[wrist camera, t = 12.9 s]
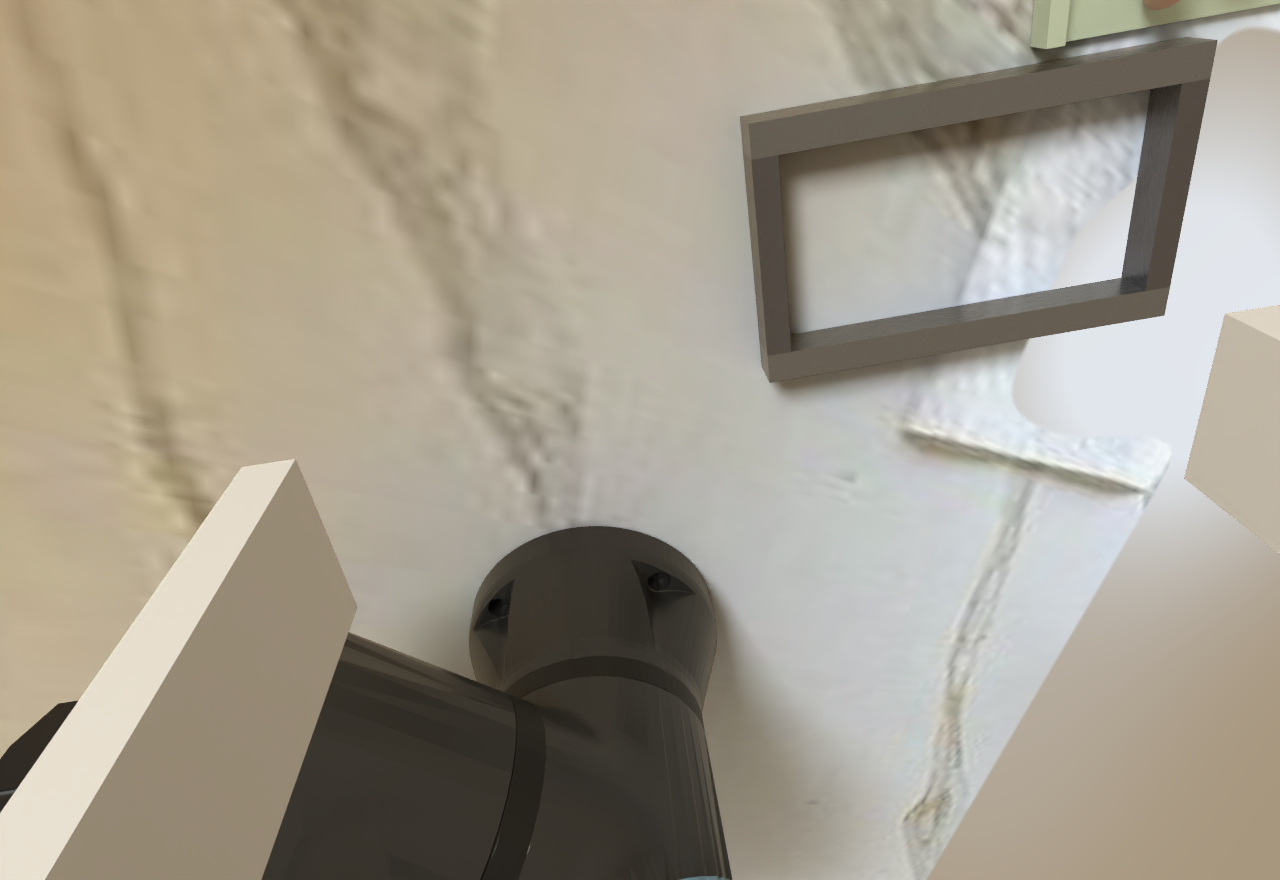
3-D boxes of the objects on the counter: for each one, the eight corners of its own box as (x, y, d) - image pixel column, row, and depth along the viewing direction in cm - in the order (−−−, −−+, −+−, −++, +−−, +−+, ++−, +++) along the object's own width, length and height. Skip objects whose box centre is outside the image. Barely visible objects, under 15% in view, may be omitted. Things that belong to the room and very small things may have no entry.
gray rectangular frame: (1140, 301, 41) (1164, 315, 40) (761, 366, 42) (769, 382, 40) (1186, 36, 35) (1217, 39, 33) (740, 116, 36) (748, 123, 34)
